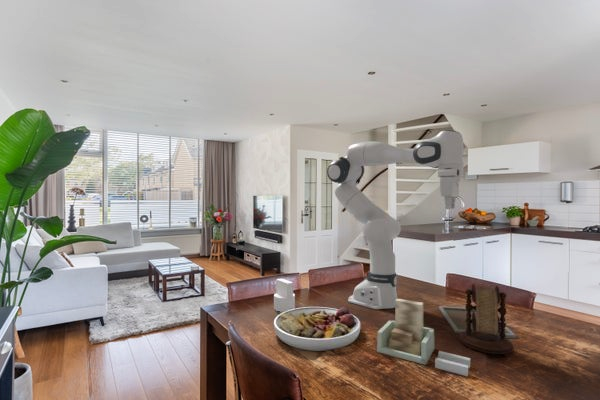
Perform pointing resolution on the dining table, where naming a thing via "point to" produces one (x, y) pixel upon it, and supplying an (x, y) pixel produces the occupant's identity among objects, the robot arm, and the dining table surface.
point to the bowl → (317, 328)
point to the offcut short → (402, 336)
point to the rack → (384, 348)
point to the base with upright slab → (284, 296)
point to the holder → (452, 363)
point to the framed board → (458, 317)
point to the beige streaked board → (409, 317)
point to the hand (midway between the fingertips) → (450, 208)
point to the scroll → (486, 322)
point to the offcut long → (406, 347)
